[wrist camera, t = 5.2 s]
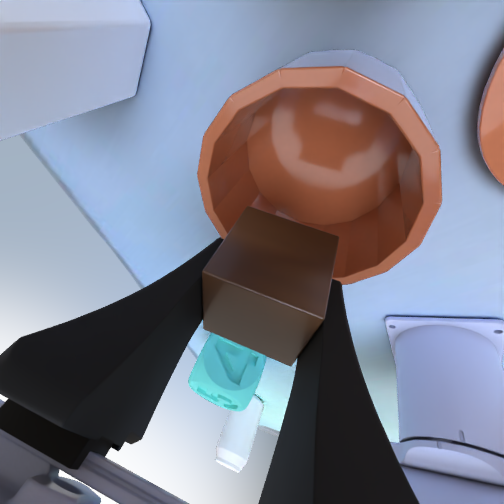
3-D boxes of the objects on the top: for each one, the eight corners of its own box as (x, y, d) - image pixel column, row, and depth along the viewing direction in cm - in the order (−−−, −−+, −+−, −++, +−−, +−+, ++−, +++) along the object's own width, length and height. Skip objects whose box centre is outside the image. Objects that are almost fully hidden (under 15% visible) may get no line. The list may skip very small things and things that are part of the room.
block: (340, 235, 10) (325, 319, 7) (309, 292, 13) (291, 367, 10) (247, 204, 11) (200, 271, 8) (238, 265, 13) (202, 329, 11)
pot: (428, 212, 15) (445, 281, 11) (276, 236, 21) (252, 288, 17) (413, -7, 10) (434, -19, 6) (214, 104, 16) (158, 135, 12)
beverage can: (251, 403, 56) (229, 469, 48) (232, 389, 54) (205, 455, 46) (270, 404, 52) (250, 477, 43) (250, 389, 50) (225, 462, 42)
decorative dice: (219, 316, 34) (189, 373, 29) (272, 342, 34) (251, 405, 28) (212, 338, 40) (185, 389, 35) (257, 361, 40) (237, 416, 34)
